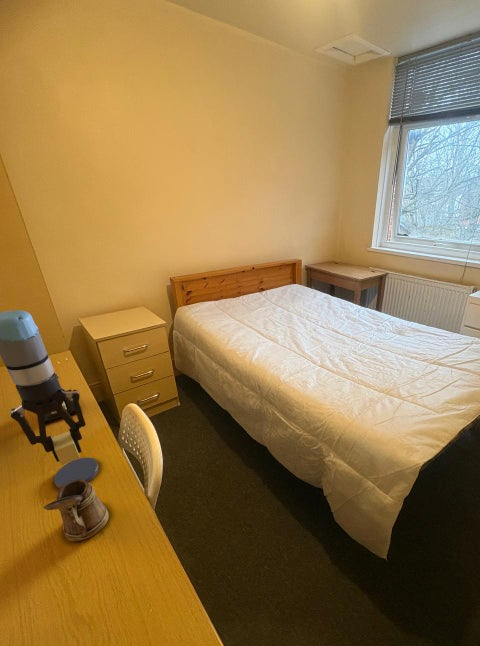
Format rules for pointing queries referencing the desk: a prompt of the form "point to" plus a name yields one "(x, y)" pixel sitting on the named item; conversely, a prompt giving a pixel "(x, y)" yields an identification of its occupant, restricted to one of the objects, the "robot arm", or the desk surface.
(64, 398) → the robot arm
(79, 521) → the wooden mug
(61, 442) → the butter block
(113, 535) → the desk surface
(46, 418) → the slicer
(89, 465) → the saucer
